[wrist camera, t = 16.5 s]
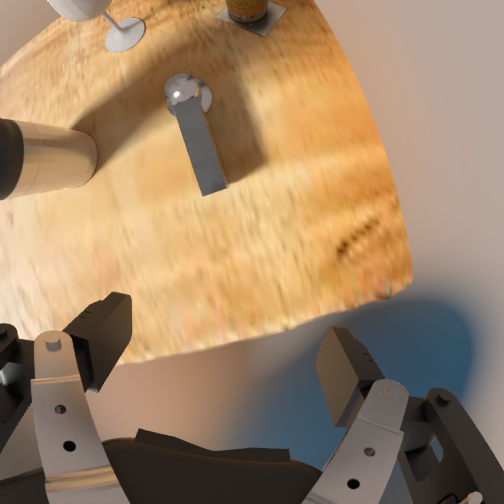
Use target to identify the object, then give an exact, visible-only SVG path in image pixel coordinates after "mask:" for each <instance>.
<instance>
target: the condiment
mask: <svg viewBox="0 0 504 504" xmlns="http://www.w3.org/2000/svg"><path fill="white" fill-rule="evenodd" d="M226 3H227V6H226V7H225V8H224V9H223V10H222V12H221V13H220V14H219V15H218V16H217V17H216V18H217V19H220V20H222V21H225V22H228V23H230V24H233V25H236V26H239V27H241V28H245V29H247V30H249V31H252V32H254V33H257V34H260V35H262V36H264V37H265V36H266V35H267V33H268V32H269V31H270V30H271V28H272V27H273V26H274V25H275V23H276V22H277V21H278V20H279V18H280V17H281V16H282V14H283V13H284V12H285V10H286V8H284V7H282V6H279V5H277V4H275V3H272V2H270V1H268V0H226ZM267 10H268V11H269V12H270V13H268V11H267ZM250 24H251V25H250Z"/></svg>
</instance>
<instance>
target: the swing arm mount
mask: <svg viewBox="0 0 504 504" xmlns="http://www.w3.org/2000/svg"><path fill="white" fill-rule="evenodd" d="M194 79H195V81H196V83H197V85H198V86H199V88H200V90H201V92H202V101H201V105H202V106H203V109H204V112H205V114H206V113H207V112H208V110H209V109H210V107H211V104H212V93H211V90H210V88H209V87H208V85H207V84H206V83H205V82H204V81H202V80H200V79H196V78H194ZM166 103H167V107H168V110H169V111H170V113H171V114H172V115H174V116H175V117H176V114H175V111H174V108H173V105H174V104H173V103H172V102H171V101H170V100H169V99H168V98H167V100H166ZM176 118H177V117H176Z"/></svg>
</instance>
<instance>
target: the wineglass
mask: <svg viewBox="0 0 504 504" xmlns="http://www.w3.org/2000/svg"><path fill="white" fill-rule="evenodd" d="M47 1H48V2H49V3H50V5H51V6H52V7H53V8H54V9H55V10H56V11H57V12H58V13H59V14H60V15H61V16H63V17H64V18H66V19H68V20H71V21H77V22H82V21H86V20H90V19H93V18H95V17H97V16H99V15H101V16H103V17H104V18H105V19H106V20H107V21H108V22H109V23H110V24H111V25H112V26H113V27H112V28H111V29H110V30H109V32H108V33H107V36H106V38H105V46H106V48H107V49H108V50H109V51H111V52H114V53H119V52H124V51H127V50H129V49H131V48H132V47H133V46H135V45H136V44H137V43H138V42H139V41H140V39H141V38H142V36H143V34H144V31H145V26H144V24H143V22H142V21H141V20H140V19H137V18H127V19H124V20H122V21H120V22H118V23H116V22H115V21H114V20H113V19H112V18H111V17H110V16H109V15H108V14H107V12H106V11H105V10H106V9H107V8H108V7H109V5H110V4H111V2H112V0H47Z"/></svg>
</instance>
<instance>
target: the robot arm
mask: <svg viewBox="0 0 504 504" xmlns="http://www.w3.org/2000/svg"><path fill="white" fill-rule="evenodd" d="M97 159H98V152H97V147H96V144H95V142H94V140H93V138H92V137H91V136H90V135H88V134H87V133H84V132H80V131H75V130H71V129H65V128H60V127H55V126H49V125H43V124H37V123H30V122H23V121H16V120H8V119H2V118H0V200H4V199H9V198H15V197H19V196H25V195H30V194H36V193H42V192H48V191H55V190H63V189H70V188H76V187H80V186H82V185H84V184H85V183H86V182H87V181H88V180H89V179H90V178H91V176H92V175H93V173H94V171H95V168H96V165H97ZM131 336H132V299H131V296H130V295H127V294H123V293H118V292H111V293H110V294H109V295H108V296H107V297H106V298H105V299H104V300H103V301H101V300H99V301H97V302H94V303H92V304H90V305H89V306H88V307H87V308H86V309H85V310H84V311H83V312H81V313H80V314H79V315H78V317H76V318H75V319H74V320H73V321H72V322H71V323H70V324H69V325H68V326H67V327H66V328H65V329H64V330H63V331H47V332H44V333H42V334H40V335H39V336H38V337H37V338H36V339H35V341H31V340H24V339H19V337H18V333H17V329H16V328H15V327H14V326H13V325H11V324H6V323H1V324H0V379H1V381H2V382H1V384H0V453H1V452H2V450H3V448H4V446H5V445H6V443H7V441H8V439H9V438H10V436H11V434H12V433H13V431H14V429H15V428H16V426H17V425H18V423H19V421H20V420H21V418H22V416H23V415H24V413H25V412H26V410H27V409H28V407H29V406H30V404H31V403H32V405H33V414H34V422H35V429H36V435H37V440H38V446H39V451H40V455H41V460H42V465H43V466H42V467H39V468H37V469H34V470H31V471H28V472H25V473H22V474H20V475H17V476H13V477H10V478H7V479H4V480H0V504H378V503H379V501H380V498H381V496H382V494H383V492H384V489H385V487H386V484H387V482H388V479H389V477H390V474H391V472H392V469H393V466H394V463H395V461H396V458H397V459H398V462H399V464H400V467H401V470H402V472H403V475H404V478H405V481H406V484H407V486H408V489H409V492H410V495H411V498H412V501H413V504H504V471H503V469H502V467H501V465H500V464H499V462H498V460H497V459H496V457H495V456H494V454H493V452H492V450H491V449H490V447H489V446H488V444H487V443H486V441H485V439H484V438H483V436H482V435H481V433H480V432H479V430H478V429H477V427H476V426H475V424H474V423H473V421H472V420H471V418H470V417H469V415H468V414H467V412H466V411H465V409H464V408H463V406H462V405H461V404H460V402H459V401H458V399H457V398H456V397H455V396H454V395H453V394H452V393H451V392H449V391H448V390H445V389H442V388H433V389H431V390H430V391H429V392H428V394H427V395H426V397H425V398H418V397H411V396H409V395H408V392H407V390H406V389H405V387H403V386H402V385H401V384H399V383H398V382H396V381H393V380H389V379H385V377H384V376H383V374H382V372H381V371H380V369H379V368H378V366H377V364H376V363H375V361H374V359H373V358H372V356H371V355H370V353H369V351H368V350H367V348H366V347H365V346H364V345H363V344H362V343H361V342H359V341H358V340H357V339H354V338H353V336H352V335H351V333H350V331H349V330H348V328H347V327H339V326H328V328H327V329H326V332H325V335H324V338H323V341H322V344H321V347H320V350H319V353H318V356H317V360H316V371H317V374H318V377H319V380H320V383H321V386H322V389H323V392H324V395H325V398H326V401H327V405H328V408H329V411H330V414H331V417H332V420H333V423H334V427H347V432H346V434H345V435H344V437H343V438H342V440H341V442H340V443H339V445H338V447H337V448H336V450H335V451H334V453H333V455H332V456H331V458H330V459H329V461H328V462H327V464H326V465H325V467H324V468H323V470H322V471H320V470H318V469H317V468H315V467H313V466H311V465H308V464H306V463H303V462H300V461H297V460H293V459H290V455H289V449H269V448H244V449H234V450H223V451H211V450H208V449H205V448H202V447H199V446H196V445H194V444H191V443H188V442H186V441H184V440H181V439H178V438H176V437H173V436H168V435H164V434H159V433H155V432H151V431H147V430H143V429H138V432H137V435H136V437H135V438H131V437H129V438H115V439H109V440H105V441H102V442H101V441H100V438H99V436H98V433H97V430H96V427H95V424H94V421H93V418H92V415H91V412H90V409H89V406H88V403H87V400H86V396H85V392H86V391H87V389H88V390H91V391H94V392H97V393H98V392H99V391H100V389H101V387H102V386H103V384H104V382H105V381H106V379H107V377H108V376H109V374H110V373H111V371H112V369H113V368H114V366H115V364H116V363H117V361H118V360H119V358H120V356H121V355H122V353H123V352H124V350H125V348H126V347H127V345H128V344H129V342H130V340H131ZM436 437H437V439H438V441H439V442H440V444H441V446H442V448H443V452H444V453H443V459H442V461H441V462H440V463H439V461H438V459H437V457H436V455H435V453H434V451H433V449H432V447H431V445H430V444H431V443H432V442H433V440H434V439H435V438H436Z"/></svg>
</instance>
